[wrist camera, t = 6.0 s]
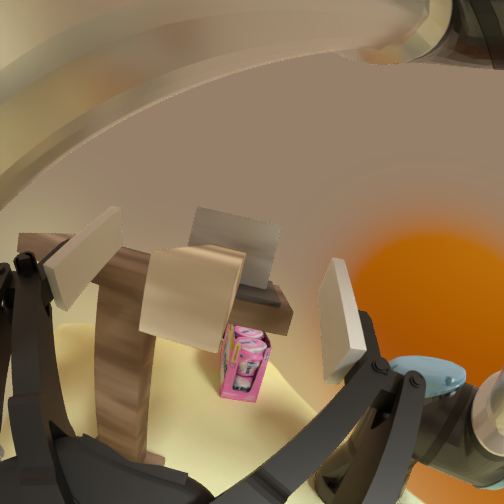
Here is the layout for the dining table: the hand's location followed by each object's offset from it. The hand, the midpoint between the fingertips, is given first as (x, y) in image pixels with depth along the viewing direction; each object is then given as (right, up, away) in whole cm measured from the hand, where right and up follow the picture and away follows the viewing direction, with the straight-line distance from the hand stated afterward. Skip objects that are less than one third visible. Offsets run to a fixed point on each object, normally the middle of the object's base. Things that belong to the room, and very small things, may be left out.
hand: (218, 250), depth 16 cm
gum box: (-2, -30, +45) cm, 55 cm away
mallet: (-1, -3, +4) cm, 5 cm away
